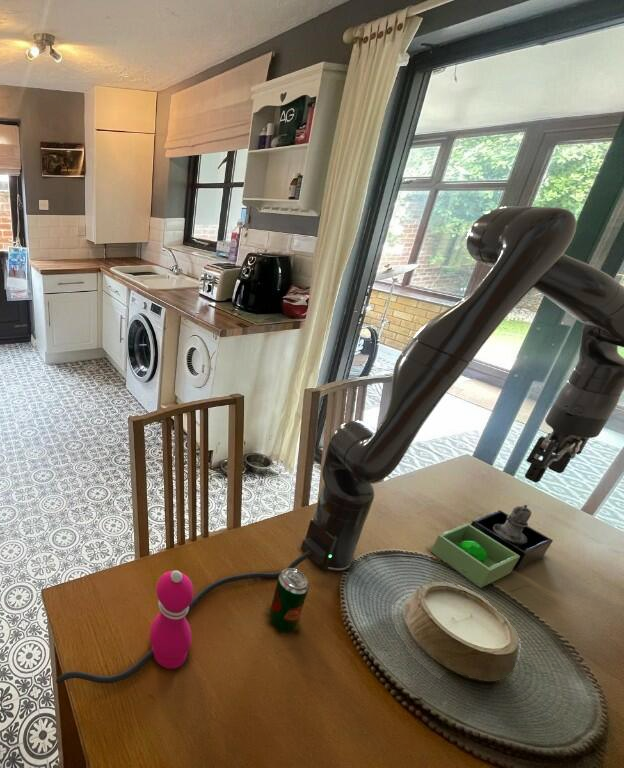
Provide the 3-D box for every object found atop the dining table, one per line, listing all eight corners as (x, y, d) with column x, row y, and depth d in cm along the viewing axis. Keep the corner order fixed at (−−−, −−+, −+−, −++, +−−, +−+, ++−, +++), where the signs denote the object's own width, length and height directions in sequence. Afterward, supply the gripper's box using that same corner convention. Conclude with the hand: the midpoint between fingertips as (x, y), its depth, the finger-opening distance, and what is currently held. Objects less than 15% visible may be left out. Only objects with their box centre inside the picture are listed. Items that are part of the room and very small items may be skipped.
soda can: (283, 639, 75) (296, 595, 70) (262, 616, 79) (273, 572, 74) (302, 627, 77) (316, 583, 72) (281, 605, 81) (292, 562, 76)
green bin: (480, 588, 85) (490, 570, 83) (430, 551, 94) (438, 535, 91) (510, 573, 88) (520, 556, 86) (459, 539, 97) (467, 523, 95)
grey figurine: (526, 556, 92) (552, 516, 86) (496, 552, 93) (519, 512, 88) (509, 537, 97) (532, 497, 92) (481, 533, 98) (502, 494, 93)
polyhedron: (485, 572, 88) (494, 556, 86) (457, 565, 89) (466, 549, 87) (476, 555, 92) (485, 539, 90) (450, 548, 94) (458, 533, 92)
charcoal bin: (515, 570, 89) (525, 553, 87) (464, 537, 98) (472, 520, 95) (542, 556, 92) (553, 540, 90) (491, 525, 101) (499, 509, 99)
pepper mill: (179, 680, 69) (189, 601, 60) (141, 657, 72) (145, 578, 64) (195, 644, 74) (206, 566, 66) (159, 624, 78) (165, 547, 69)
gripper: (576, 394, 85) (540, 458, 92) (536, 405, 80) (501, 472, 87) (628, 410, 78) (585, 478, 85) (587, 423, 74) (545, 494, 81)
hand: (543, 475), depth 86 cm, fingers open, 8 cm apart
